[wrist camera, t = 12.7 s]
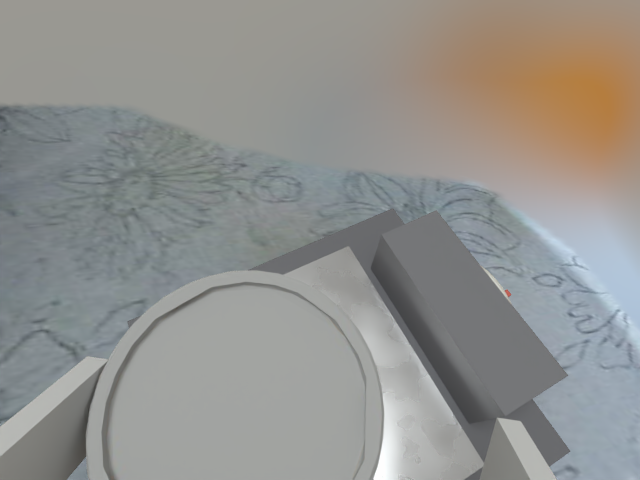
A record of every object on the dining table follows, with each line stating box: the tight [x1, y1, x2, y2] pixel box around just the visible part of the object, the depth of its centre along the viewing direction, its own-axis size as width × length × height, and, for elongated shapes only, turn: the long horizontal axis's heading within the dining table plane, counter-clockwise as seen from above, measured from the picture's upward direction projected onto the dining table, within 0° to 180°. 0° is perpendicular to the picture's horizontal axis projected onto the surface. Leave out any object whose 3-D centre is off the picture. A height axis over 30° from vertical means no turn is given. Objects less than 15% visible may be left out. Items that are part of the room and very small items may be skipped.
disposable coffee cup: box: [86, 270, 384, 480], centre depth 17 cm, size 10×10×12 cm
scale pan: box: [284, 246, 484, 480], centre depth 23 cm, size 16×16×1 cm
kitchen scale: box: [128, 209, 570, 480], centre depth 23 cm, size 20×22×8 cm
